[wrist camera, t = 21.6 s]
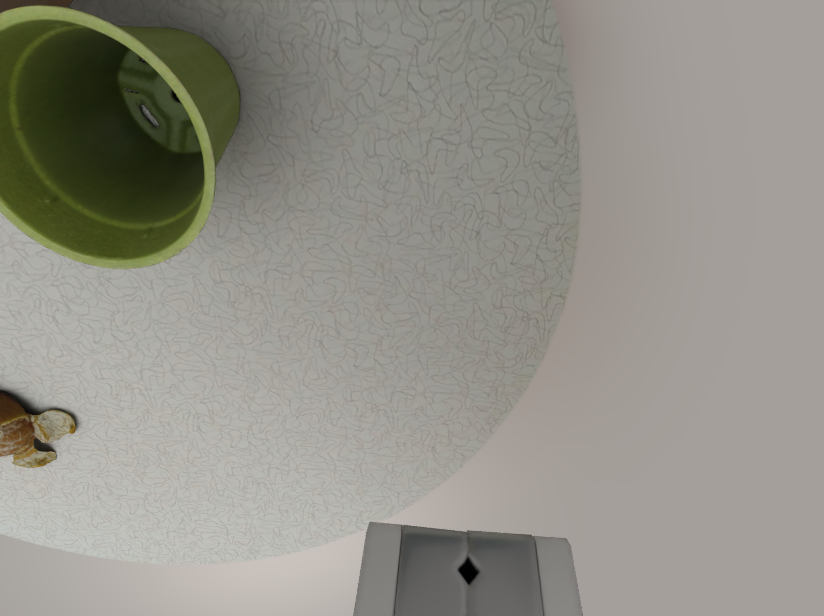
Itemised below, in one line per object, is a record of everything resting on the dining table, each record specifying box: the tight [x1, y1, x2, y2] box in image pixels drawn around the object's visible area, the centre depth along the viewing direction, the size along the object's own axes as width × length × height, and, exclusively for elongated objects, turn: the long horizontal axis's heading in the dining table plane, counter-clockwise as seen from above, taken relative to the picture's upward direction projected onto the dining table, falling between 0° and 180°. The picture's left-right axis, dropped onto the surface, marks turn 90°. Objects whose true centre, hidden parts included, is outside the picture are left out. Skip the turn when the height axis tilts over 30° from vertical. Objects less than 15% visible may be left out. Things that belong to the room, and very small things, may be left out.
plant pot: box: [0, 5, 240, 269], centre depth 32 cm, size 12×12×11 cm
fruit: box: [0, 390, 76, 468], centre depth 51 cm, size 8×8×4 cm
